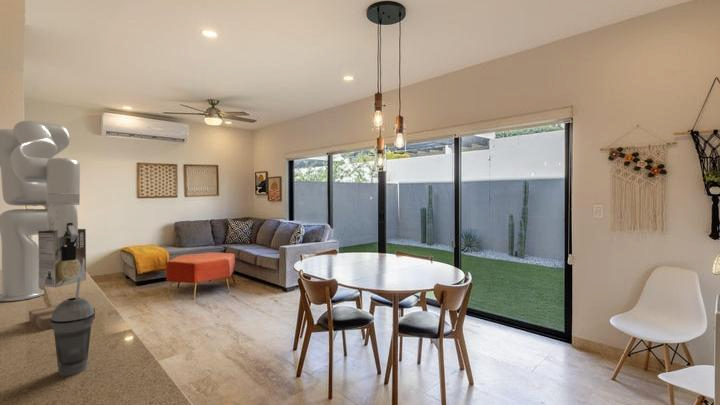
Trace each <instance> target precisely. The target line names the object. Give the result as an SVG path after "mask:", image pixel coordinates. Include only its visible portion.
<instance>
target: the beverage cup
mask: <svg viewBox="0 0 720 405" xmlns="http://www.w3.org/2000/svg"><path fill="white" fill-rule="evenodd" d="M81 283H82V281H81V277H79V278H78V282H76V291H75V297H71V298H70V297H69V298H67V299H65V300H63V301H61V302H60V303H59V304H57V305H56V306H57V307H56V308H55V310H54V312H53V314H52V319H51V322H52V328H51V329H52V331H53V333H54V334H53V335H54V345H55V353H56V363H57V368H58V375H59V376H61V377H68V376H73V375H74V376H75V375H78V374H80V373H82V372H84V371H85V370H86V369H87V364H88V357H89V350H90V349H89V348H90V339H91V331H92V325H93V322H94V318H93V317H94V314H95V315H96V312H95V313H94V309H93V308H94V306H93V304H92V303H91V302H90V301H88V300H87V299H85V298H83V297H79V295H80V288H81Z"/></svg>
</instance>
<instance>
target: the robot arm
mask: <svg viewBox="0 0 720 405" xmlns="http://www.w3.org/2000/svg"><path fill="white" fill-rule="evenodd" d="M70 141H71V136H70V133H69V130H68V129H67V128H66V127H65V126H63V125H61V124H56V123H50V122H43V121H36V120H22V121H19V122H17V123H16V124H15V125H14V126H13V128H1V129H0V174H1V176H0V178H1V190H2V191H1V192H2V197H3V201H4V202H5V204H7V205H10V206H16V207H17V206H18V207H21V206H22V207H24V206H25V207H29V206H30V207H35V206H36V207H37V206H38V207H40V206H41V207H43V208H19V209H18V208H16V209H15V208H14V209H8V210H5V211H3V212H2V213H0V240H1V242H0V243H1V293H0V302H16V301H17V302H18V301H22V300H23V301H24V300H28V299H33V298H34V299H35V298H37V297H41V296H42V295H44V294H45V290H44V289H41V288H39V244H37V242H35V241H34V240H33V239H32V238H30V236H36V235H37V236H38V231H47V230H50V231H55V232H57V238H58V239H59V238H60V237H62V243H63V247H62V261H69V260H75V259H76V236H77V234H78V229H79V219H78V207H77V206H79V205H80V204H81V202H80V196H81V195H80V192H81V191H80V190H81V189H80V188H81V186H80V184H81V181H80V180H81V179H80V178H81V176H80V175H81V174H80V173H81V164H80V162H79V161H78V160H77V159H73V158H68V157H67V158H65V157H64V158H63V157H55V156H57V155H58V154H59V153H61V152H63V151H64V150H65V149H67V148H68V147H69V145H70ZM66 231H68V234H69V236H64V234H65V232H66ZM66 240H67V242H66Z"/></svg>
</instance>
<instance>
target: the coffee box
mask: <svg viewBox="0 0 720 405" xmlns="http://www.w3.org/2000/svg"><path fill="white" fill-rule="evenodd" d="M86 231H87V230H86V228H78V234H77V236H76V259H75V260H69V261H62V247H63V243H62V237H60V238H59V239H58V238H57V232H55V231H50V230H47V231H38V235H37V236H38V248H39V279H38V287H45V288H59V287H63V286H67V285H72V284H77V282H78V278H79V277H81V282H83V281H84V282H85V281H87V248H86V246H87V244H86V243H87V241H86V238H87V236H86V235H87V234H86ZM64 236H69V234H68V231H66V232H65V234H64ZM66 242H67V240H66Z"/></svg>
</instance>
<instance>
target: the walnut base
mask: <svg viewBox="0 0 720 405" xmlns="http://www.w3.org/2000/svg"><path fill="white" fill-rule="evenodd" d="M57 306H58V305H54V306H48V307H44V308H39V309H34V310H32V309H31V310H29V311H28V322H29V323H31V324H33V325H34V326H36V327H37V328H38V329H40V330H42V331H46V330H50V329H53V328H52V322H51V319H52V314H53V312H54V310H55V308H56V307H57ZM93 309H94V313H95V314H94V317H93V319H95V318H96V308H95V307H93Z"/></svg>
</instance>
